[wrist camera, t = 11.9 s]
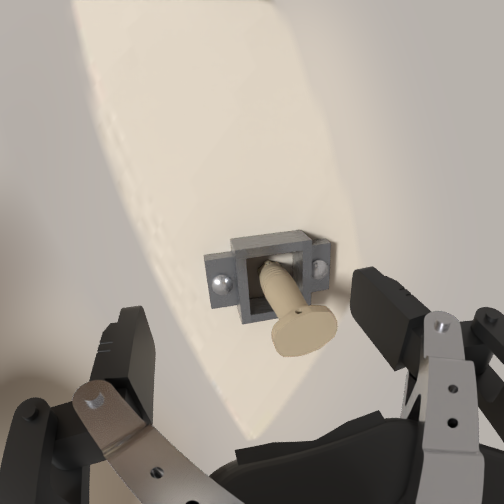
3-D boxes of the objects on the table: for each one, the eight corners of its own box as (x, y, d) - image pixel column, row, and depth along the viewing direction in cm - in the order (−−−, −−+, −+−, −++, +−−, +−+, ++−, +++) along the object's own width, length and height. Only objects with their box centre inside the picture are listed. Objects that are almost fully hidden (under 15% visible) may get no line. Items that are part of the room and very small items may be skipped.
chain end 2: (239, 237, 40) (245, 249, 36) (325, 226, 41) (338, 236, 38) (245, 307, 44) (251, 322, 40) (323, 293, 45) (334, 306, 42)
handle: (241, 262, 41) (268, 328, 27) (286, 246, 41) (334, 303, 28) (251, 292, 43) (280, 363, 29) (294, 276, 43) (339, 340, 30)
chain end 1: (202, 242, 39) (203, 254, 35) (292, 230, 41) (302, 241, 37) (212, 312, 43) (214, 328, 39) (293, 298, 45) (302, 313, 41)
